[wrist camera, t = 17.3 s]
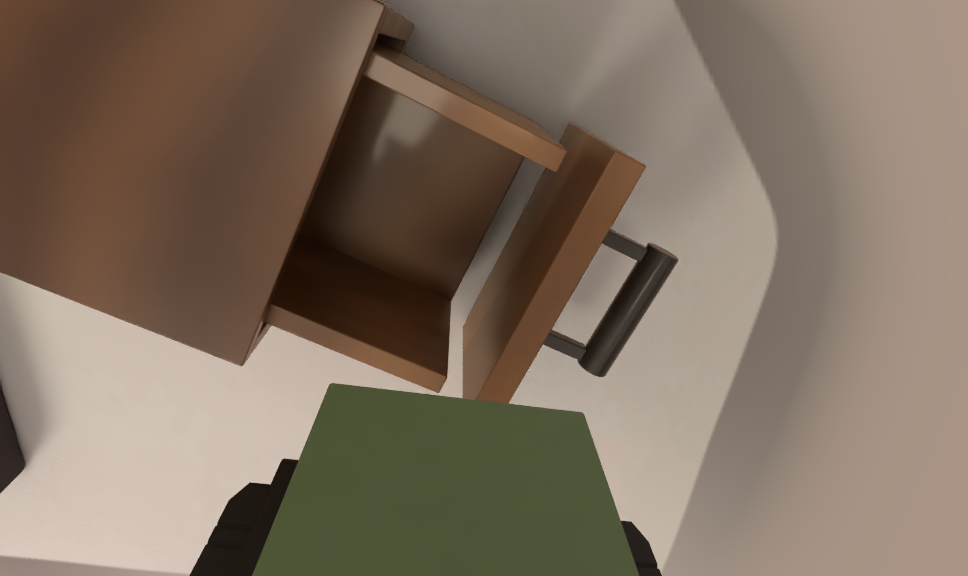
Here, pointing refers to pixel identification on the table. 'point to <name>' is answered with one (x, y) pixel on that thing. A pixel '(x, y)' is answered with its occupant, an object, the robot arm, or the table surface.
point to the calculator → (8, 450)
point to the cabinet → (173, 150)
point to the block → (445, 492)
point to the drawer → (457, 236)
